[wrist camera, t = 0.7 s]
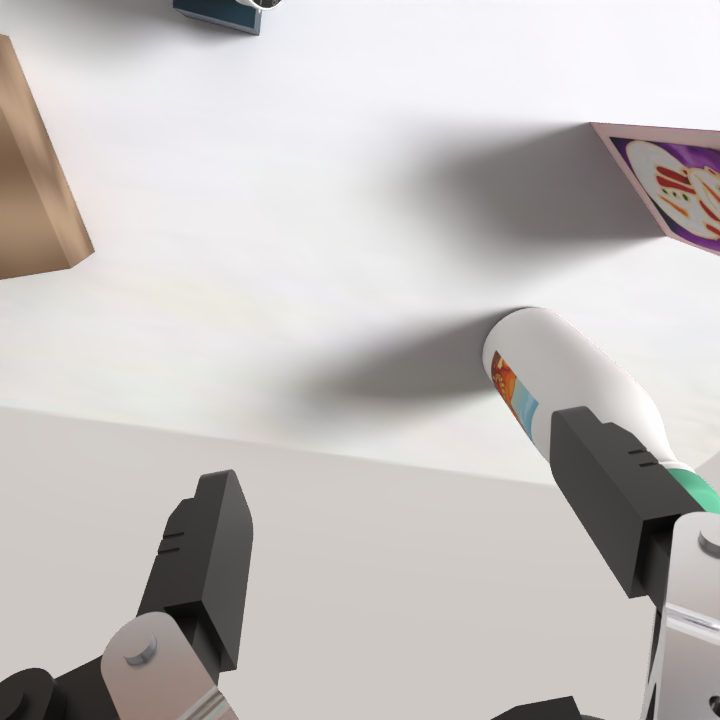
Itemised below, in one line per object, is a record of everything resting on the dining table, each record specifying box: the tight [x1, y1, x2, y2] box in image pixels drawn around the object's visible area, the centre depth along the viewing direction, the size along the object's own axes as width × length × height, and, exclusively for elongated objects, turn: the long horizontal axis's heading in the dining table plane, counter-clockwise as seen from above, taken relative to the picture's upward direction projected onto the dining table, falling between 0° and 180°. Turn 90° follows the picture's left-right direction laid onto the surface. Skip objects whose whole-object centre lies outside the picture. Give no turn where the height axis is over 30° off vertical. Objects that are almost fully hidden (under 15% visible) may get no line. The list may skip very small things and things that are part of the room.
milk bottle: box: [482, 308, 720, 514], centre depth 33 cm, size 8×8×20 cm
